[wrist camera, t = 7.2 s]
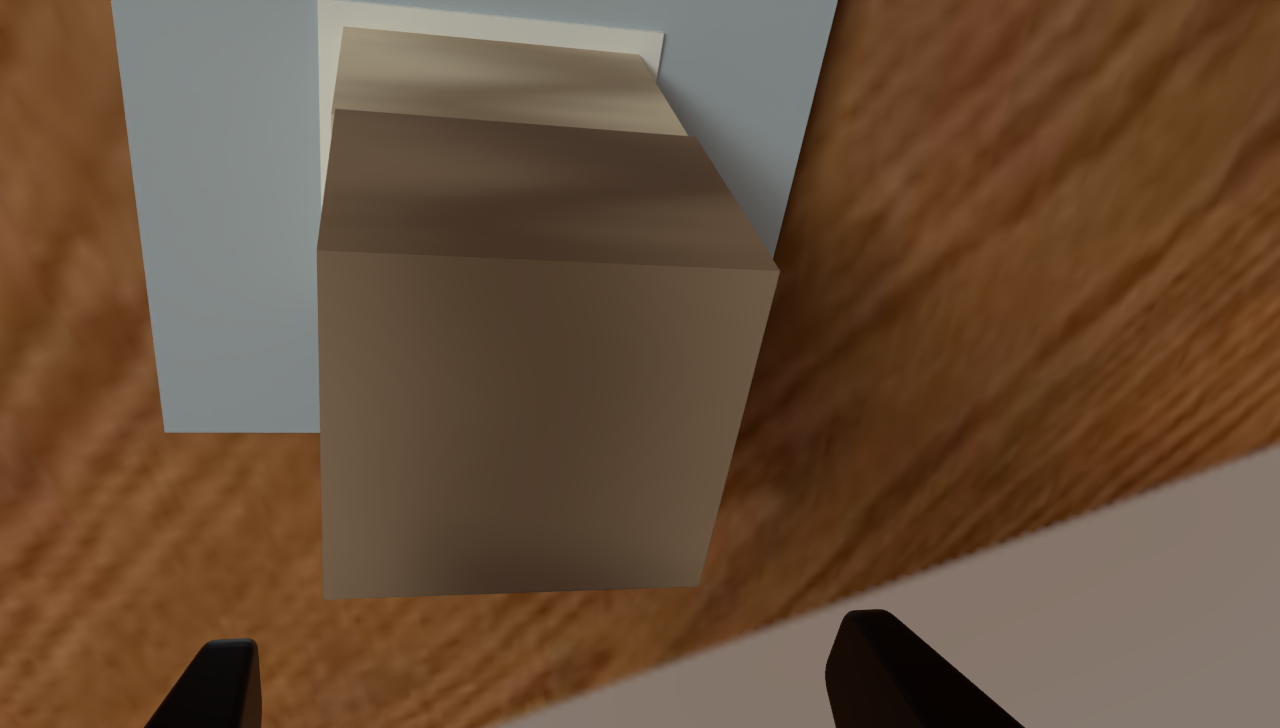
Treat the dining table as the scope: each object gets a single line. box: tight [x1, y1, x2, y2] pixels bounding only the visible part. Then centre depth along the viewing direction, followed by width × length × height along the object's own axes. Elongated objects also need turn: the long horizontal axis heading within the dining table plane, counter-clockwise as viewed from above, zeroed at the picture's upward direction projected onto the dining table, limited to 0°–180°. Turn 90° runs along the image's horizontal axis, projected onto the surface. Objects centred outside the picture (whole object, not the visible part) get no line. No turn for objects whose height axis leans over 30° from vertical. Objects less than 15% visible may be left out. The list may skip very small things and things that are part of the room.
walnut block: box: [317, 109, 780, 600], centre depth 14 cm, size 5×5×4 cm
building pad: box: [111, 0, 838, 433], centre depth 19 cm, size 12×12×1 cm
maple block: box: [331, 26, 688, 137], centre depth 17 cm, size 5×5×4 cm
